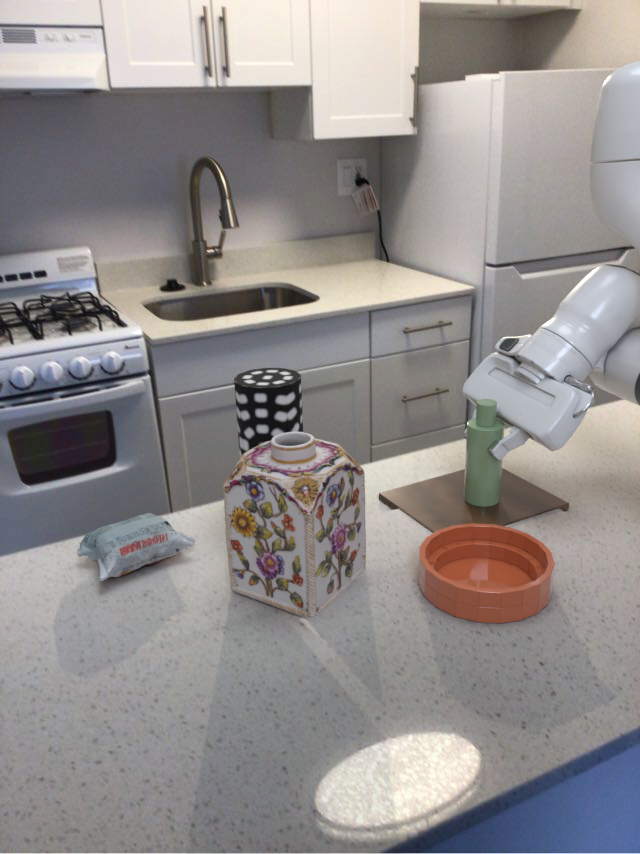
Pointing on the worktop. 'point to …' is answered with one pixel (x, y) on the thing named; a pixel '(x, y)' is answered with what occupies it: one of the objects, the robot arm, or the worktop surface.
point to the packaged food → (132, 544)
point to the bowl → (486, 572)
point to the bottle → (483, 456)
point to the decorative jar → (295, 522)
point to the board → (446, 505)
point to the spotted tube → (267, 405)
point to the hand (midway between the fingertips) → (480, 446)
